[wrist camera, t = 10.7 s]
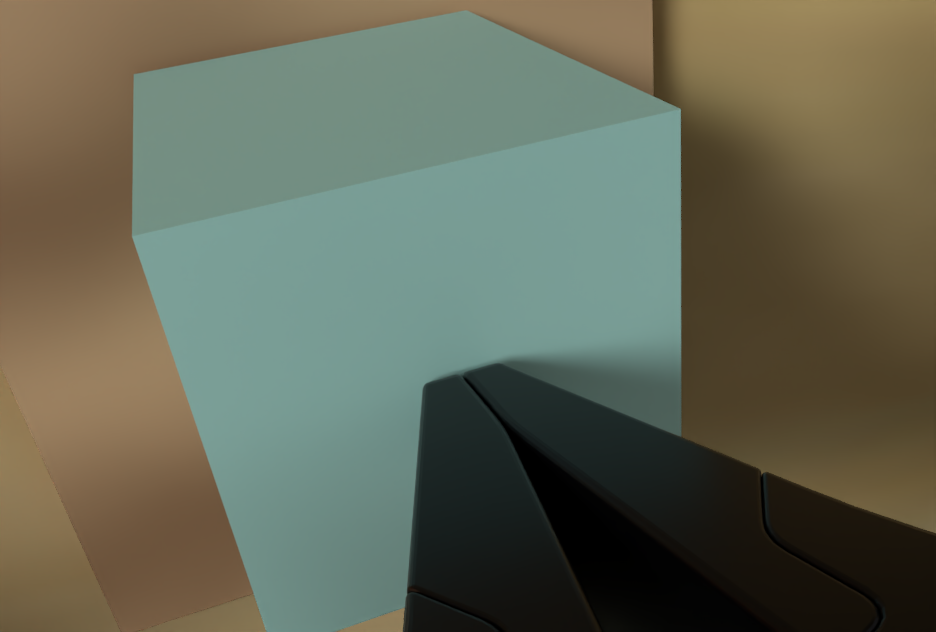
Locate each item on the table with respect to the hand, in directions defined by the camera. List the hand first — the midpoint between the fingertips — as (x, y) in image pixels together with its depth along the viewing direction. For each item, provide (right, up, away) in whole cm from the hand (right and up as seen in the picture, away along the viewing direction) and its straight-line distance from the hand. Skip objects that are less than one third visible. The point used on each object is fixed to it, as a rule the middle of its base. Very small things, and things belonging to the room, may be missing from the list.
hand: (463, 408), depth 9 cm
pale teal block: (-2, +3, +6) cm, 7 cm away
